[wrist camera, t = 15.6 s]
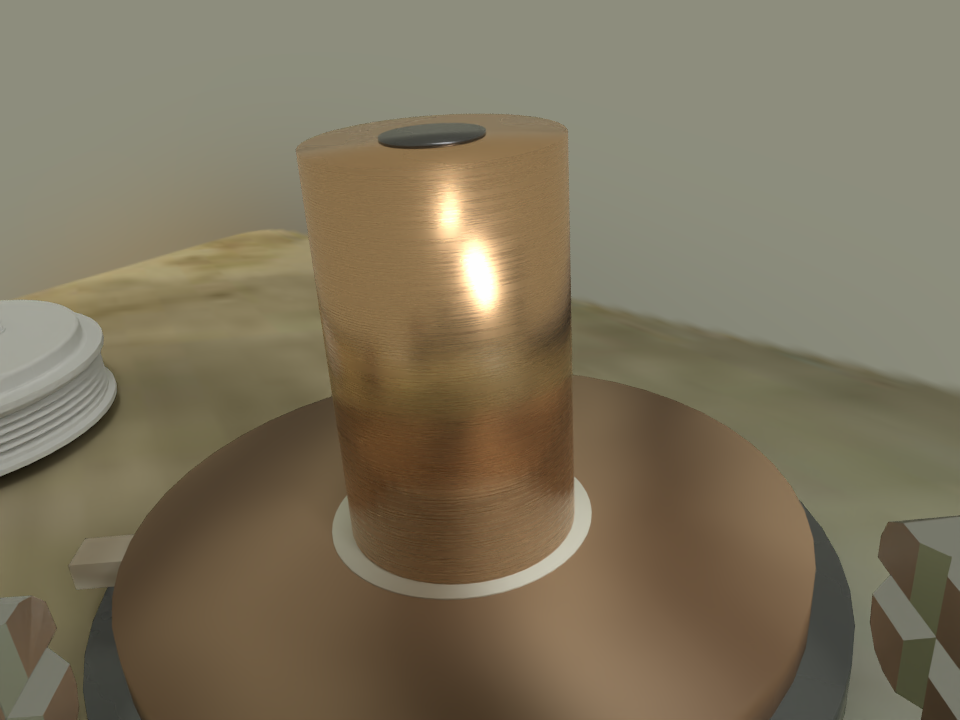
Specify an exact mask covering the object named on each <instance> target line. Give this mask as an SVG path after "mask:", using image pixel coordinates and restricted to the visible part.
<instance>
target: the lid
mask: <svg viewBox="0 0 960 720" xmlns="http://www.w3.org/2000/svg"><path fill="white" fill-rule="evenodd" d="M103 342H104V337H103V333H102V329H101V327H100V326H99V325H98V323H97V322H96V321H94V320H93V319H91V318H90V317H87V316H85V315H82V314H79V313H75V312H73V311H72V310H70V309H69V308H67V307H65V306H62V305H59V304H56V303H51V302H46V301H37V300H0V476H2V475H5V474H7V473H10V472H12V471H14V470H17V469H19V468H21V467H24V466H26V465H28V464H31V463H33V462H35V461H37V460H39V459H41V458H43V457H45V456H47V455H49V454H51V453H52V452H54V451H56V450H58V449H59V448H61V447H63V446H65V445H66V444H68V443H70V442H71V441H73V440H74V439H76V438H77V437H78V436H80V435H81V434H83V433H84V432H86V431H87V430H88V429H89V428H90V427H92V426H93V425H94V424H95V423H96V422H98V421H99V420H100V418H101V417H102V416H103V415H104V414H105V413H106V412H107V411H108V409H109V408H110V406H111V405H112V403H113V402H114V399H115V396H116V393H117V384H116V380H115V378H114V376H113V373H112V372H111V371H110V370H109V369H108V368H107V367H105V366H104V363H103V360H102V356H101V353H100V351H101V349H102V346H103Z"/></svg>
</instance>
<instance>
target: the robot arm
mask: <svg viewBox="0 0 960 720" xmlns="http://www.w3.org/2000/svg"><path fill="white" fill-rule="evenodd" d="M878 558H879V559H880V561H881V562H882V564H883V565H884V566H885V568H886V569H887V571H888V572H889V573H890V576H889V577H888V578H887V579H886V580H885V581H884V582H883V583H882V584H881V585H880V587H879V588H878V589H877V590H876V591H875V592H874V593H873V596H872V606H871V616H870V625H871V631H872V637H873V643H874V649H875V652H876V655H877V657H878V660H879V663H880V665H881V668H882V670H883V672H884V674H885V676H886V677H887V679H888V681H889V682H890V684H891V686H892V688H893V689H894V691H895V693H897V694H899V695H900V696H902V697H903V698H905V699H907V700H908V701H910V702H912V703H913V704H915V705H916V706H918V707H920V708H921V709H923V711H922V717H921V720H960V515H959V516H948V517H937V518H926V519H915V520H904V521H893V522H888V524H887V526H886V528H885V529H884V531H883V533H882V535H881V540H880V546H879V553H878ZM56 629H57V627H56V625H55V623H54V620H53V618H52V616H51V613H50V611H49V608H48V606H47V604H46V602H45V601H43V600H41V599H38V598H36V597H34V596H21V597H5V598H0V720H77V717H78V711H79V702H78V692H77V683H76V680H75V677H74V675H73V672H72V669H71V666H70V664H69V663H68V662H66V661H65V660H64V659H62V658H61V657H60V656H58V655H57V654H56V653H54V652H53V651H52V650H50V649H49V648H48V645H49V643H50V641H51V639H52V637H53V635H54V633H55V631H56Z"/></svg>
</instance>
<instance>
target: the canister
mask: <svg viewBox="0 0 960 720" xmlns="http://www.w3.org/2000/svg"><path fill="white" fill-rule="evenodd" d="M296 155H297V162H298V168H299V175H300V182H301V189H302V195H303V202H304V208H305V215H306V222H307V228H308V236H309V242H310V249H311V256H312V263H313V269H314V276H315V283H316V289H317V296H318V303H319V310H320V316H321V323H322V330H323V336H324V343H325V350H326V357H327V363H328V370H329V377H330V384H331V390H332V397H333V404H334V410H335V417H336V424H337V431H338V437H339V444H340V451H341V457H342V464H343V471H344V478H345V484H346V491H347V498H348V505H349V511H350V518H351V525H352V531H353V537H354V539H355V542H356V544H357V546H358V547H359V549H360V550H361V552H362V553H363V554H364V555H365V556H366V557H367V558H368V559H369V560H370V561H371V562H373V563H374V564H376V565H377V566H378V567H380V568H382V569H384V570H386V571H388V572H390V573H392V574H395V575H397V576H400V577H403V578H406V579H410V580H414V581H418V582H425V583H432V584H446V585H454V584H471V583H480V582H486V581H491V580H496V579H500V578H503V577H506V576H510V575H513V574H515V573H518V572H520V571H523V570H525V569H527V568H529V567H531V566H533V565H535V564H537V563H539V562H540V561H542V560H543V559H545V558H546V557H548V556H549V555H550V554H551V553H553V552H554V551H555V550H556V549H557V548H558V547H559V546H560V545H561V544H562V542H563V541H564V540H565V539H566V537H567V536H568V534H569V532H570V530H571V528H572V525H573V522H574V514H575V501H574V445H573V389H572V333H571V279H570V278H571V277H570V222H569V167H568V130H567V128H566V127H565V126H564V125H562V124H560V123H558V122H555V121H552V120H548V119H543V118H537V117H531V116H522V115H521V116H520V115H509V114H449V115H433V116H420V117H409V118H400V119H392V120H385V121H378V122H372V123H366V124H360V125H355V126H350V127H346V128H342V129H337V130H333V131H330V132H326V133H323V134H320V135H317V136H314V137H312V138H310V139H308V140H306V141H304V142H303V143H301V144H300V145H299V146H298V147H297V149H296Z"/></svg>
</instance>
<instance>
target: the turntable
mask: <svg viewBox="0 0 960 720" xmlns="http://www.w3.org/2000/svg"><path fill="white" fill-rule="evenodd" d="M572 389H573V445H574V501H575V514H574V522H573V525H572V528H571V530H570V532H569V534H568V536H567V537H566V539H565V540H564V541H563V542H562V544H561V545H560V546H559V547H558V548H557V549H556V550H555V551H554V552H553V553H551V554H550V555H549V556H548V557H546V558H545V559H543V560H542V561H540V562H539V563H537V564H535V565H533V566H531V567H529V568H527V569H525V570H523V571H520V572H518V573H515V574H513V575H510V576H506V577H503V578H500V579H496V580H491V581H486V582H480V583H471V584H454V585H446V584H432V583H425V582H418V581H414V580H410V579H406V578H403V577H400V576H397V575H395V574H392V573H390V572H388V571H386V570H384V569H382V568H380V567H378V566H377V565H376V564H374V563H373V562H371V561H370V560H369V559H368V558H367V557H366V556H365V555H364V554H363V553H362V552H361V550H360V549H359V547H358V546H357V544H356V542H355V539H354V537H353V531H352V525H351V518H350V511H349V505H348V498H347V491H346V484H345V478H344V471H343V464H342V457H341V451H340V444H339V437H338V431H337V424H336V417H335V410H334V404H333V397H329V398H326V399H323V400H320V401H318V402H315V403H312V404H309V405H306V406H304V407H301V408H298V409H296V410H294V411H291V412H289V413H287V414H284V415H282V416H280V417H277V418H275V419H273V420H271V421H268V422H267V423H265V424H263V425H261V426H259V427H257V428H255V429H253V430H251V431H249V432H247V433H245V434H243V435H242V436H240V437H238V438H237V439H235V440H234V441H232V442H230V443H229V444H227V445H226V446H224V447H222V448H221V449H219V450H218V451H216V452H214V453H213V454H212V455H210V456H209V457H208V458H206V459H205V460H204V461H202V462H201V463H200V464H198V465H197V466H196V467H194V468H193V469H192V470H191V471H189V472H188V473H187V474H186V475H185V476H184V477H183V478H182V479H181V480H179V481H178V482H177V483H176V484H175V485H174V486H173V487H172V488H171V489H170V490H169V491H168V492H167V493H166V494H165V495H164V496H163V497H162V498H161V500H160V501H159V502H158V503H157V504H156V505H155V507H154V508H153V509H152V510H151V511H150V512H149V514H148V515H147V516H146V518H145V519H144V521H143V522H142V524H141V525H140V527H139V528H138V530H137V532H136V533H135V534H133V535H121V536H109V537H97V538H85V539H84V541H83V543H82V544H81V546H80V548H79V549H78V551H77V552H76V554H75V556H74V557H73V559H72V560H71V562H70V564H69V565H68V566H69V569H70V572H71V575H72V578H73V581H74V584H75V588H76V590H79V589H91V588H103V587H114V591H113V595H112V630H113V634H114V639H115V643H116V647H117V652H118V656H119V660H120V663H121V666H122V669H123V672H124V676H125V679H126V682H127V685H128V688H129V691H130V694H131V697H132V701H133V704H134V706H135V708H136V710H137V712H138V714H139V716H140V718H141V720H769V719H770V718H771V717H772V716H773V714H774V713H775V711H776V710H777V708H778V706H779V705H780V703H781V701H782V700H783V698H784V696H785V695H786V693H787V691H788V690H789V688H790V687H791V685H792V683H793V682H794V679H795V676H796V673H797V671H798V668H799V665H800V662H801V660H802V657H803V654H804V651H805V649H806V643H807V636H808V629H809V622H810V615H811V607H812V598H813V589H814V580H815V571H816V565H815V553H814V541H813V536H812V533H811V530H810V526H809V523H808V520H807V517H806V514H805V511H804V509H803V507H802V505H801V503H800V502H799V500H798V498H797V496H796V494H795V492H794V491H793V489H792V487H791V485H790V484H789V483H788V482H787V480H786V479H785V478H784V477H783V475H782V474H781V473H780V472H779V470H778V469H777V468H776V467H775V465H774V464H773V463H772V462H771V461H770V460H769V459H767V458H766V457H765V456H764V455H763V454H762V453H761V452H760V451H759V450H758V449H757V448H756V447H755V446H753V445H752V444H751V443H750V442H748V441H747V440H745V439H744V438H743V437H741V436H740V435H738V434H737V433H736V432H734V431H733V430H731V429H730V428H729V427H727V426H725V425H723V424H722V423H720V422H718V421H716V420H715V419H713V418H711V417H709V416H707V415H706V414H704V413H702V412H700V411H698V410H695V409H693V408H691V407H689V406H686V405H684V404H682V403H679V402H677V401H675V400H672V399H669V398H666V397H664V396H661V395H658V394H655V393H652V392H649V391H646V390H643V389H639V388H635V387H631V386H627V385H624V384H620V383H616V382H611V381H606V380H600V379H595V378H590V377H585V376H577V375H572Z"/></svg>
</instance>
